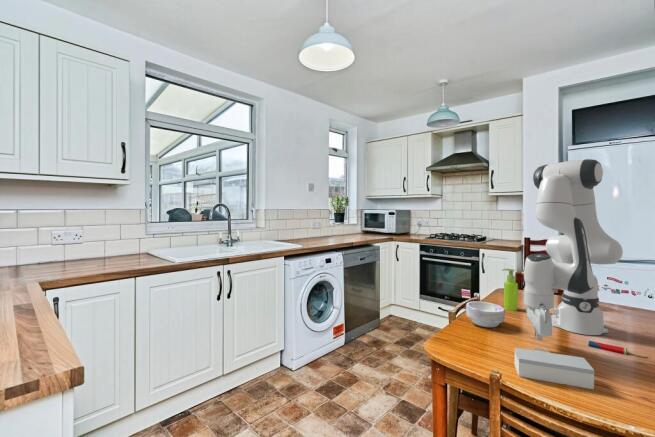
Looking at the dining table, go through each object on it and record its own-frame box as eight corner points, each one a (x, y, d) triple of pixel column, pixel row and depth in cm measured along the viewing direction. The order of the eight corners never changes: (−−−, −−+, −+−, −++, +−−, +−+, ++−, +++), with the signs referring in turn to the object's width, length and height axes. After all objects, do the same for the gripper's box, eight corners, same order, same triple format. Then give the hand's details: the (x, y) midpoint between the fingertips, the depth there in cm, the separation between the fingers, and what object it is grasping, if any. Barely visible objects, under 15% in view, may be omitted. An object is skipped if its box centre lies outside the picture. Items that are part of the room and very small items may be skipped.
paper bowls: (513, 327, 133) (513, 309, 133) (484, 332, 129) (484, 312, 128) (485, 316, 148) (485, 299, 148) (458, 319, 143) (458, 302, 143)
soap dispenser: (502, 306, 164) (502, 267, 163) (517, 308, 159) (518, 269, 159) (500, 308, 159) (501, 269, 158) (516, 311, 155) (517, 270, 154)
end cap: (514, 364, 102) (514, 347, 102) (583, 375, 95) (583, 357, 95) (518, 376, 94) (519, 358, 94) (593, 389, 87) (594, 370, 87)
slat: (533, 355, 109) (533, 346, 109) (547, 357, 107) (547, 348, 107) (544, 378, 94) (545, 368, 94) (561, 381, 92) (561, 371, 92)
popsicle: (646, 356, 105) (588, 343, 115) (646, 361, 105) (588, 347, 115) (645, 352, 108) (589, 340, 118) (645, 356, 108) (588, 344, 118)
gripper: (558, 310, 101) (557, 352, 102) (541, 293, 120) (541, 329, 121) (534, 308, 104) (534, 349, 104) (522, 292, 123) (522, 327, 123)
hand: (538, 338), depth 113 cm, fingers closed
